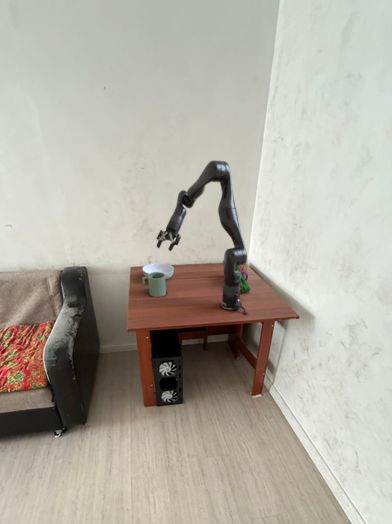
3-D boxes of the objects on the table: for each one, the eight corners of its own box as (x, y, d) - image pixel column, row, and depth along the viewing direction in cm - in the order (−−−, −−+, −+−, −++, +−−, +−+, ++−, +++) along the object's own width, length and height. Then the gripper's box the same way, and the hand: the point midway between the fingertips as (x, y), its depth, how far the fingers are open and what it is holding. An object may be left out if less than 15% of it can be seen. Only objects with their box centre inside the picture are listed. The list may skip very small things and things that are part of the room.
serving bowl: (178, 281, 194) (178, 271, 190) (148, 286, 187) (147, 276, 182) (167, 270, 209) (167, 261, 205) (139, 274, 202) (138, 265, 198)
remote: (156, 290, 181) (155, 275, 175) (161, 292, 179) (160, 277, 173) (153, 291, 179) (152, 276, 173) (158, 293, 177) (157, 278, 171)
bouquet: (233, 303, 185) (219, 275, 204) (257, 300, 188) (241, 273, 207) (239, 276, 170) (223, 249, 189) (265, 274, 174) (247, 248, 193)
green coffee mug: (167, 290, 183) (166, 272, 176) (164, 297, 175) (163, 279, 168) (145, 288, 184) (144, 271, 177) (141, 295, 176) (139, 277, 169)
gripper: (162, 218, 170) (150, 243, 169) (182, 222, 164) (170, 247, 163) (168, 226, 177) (157, 249, 176) (187, 230, 171) (176, 254, 170)
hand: (163, 248), depth 169 cm, fingers open, 8 cm apart
